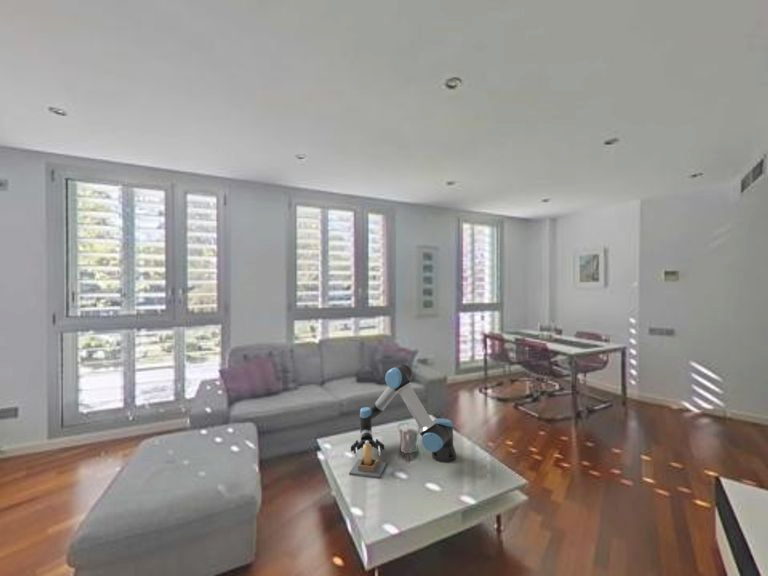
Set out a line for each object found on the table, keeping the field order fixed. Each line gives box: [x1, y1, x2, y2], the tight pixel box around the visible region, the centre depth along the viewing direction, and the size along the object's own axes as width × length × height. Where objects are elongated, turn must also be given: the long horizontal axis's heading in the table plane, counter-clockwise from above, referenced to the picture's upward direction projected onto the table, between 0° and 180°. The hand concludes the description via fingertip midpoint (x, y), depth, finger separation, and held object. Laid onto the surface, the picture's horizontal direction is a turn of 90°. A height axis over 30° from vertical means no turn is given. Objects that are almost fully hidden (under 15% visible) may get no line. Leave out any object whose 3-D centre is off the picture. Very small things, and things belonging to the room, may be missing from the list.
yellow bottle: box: [362, 440, 373, 466], centre depth 214 cm, size 5×5×16 cm
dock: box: [349, 458, 387, 479], centre depth 214 cm, size 18×16×4 cm
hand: (368, 454), depth 210 cm, fingers open, 13 cm apart
